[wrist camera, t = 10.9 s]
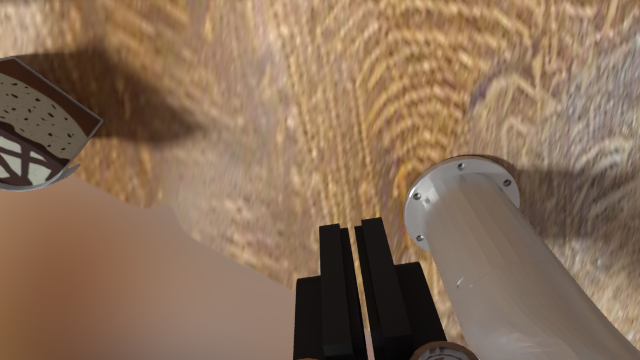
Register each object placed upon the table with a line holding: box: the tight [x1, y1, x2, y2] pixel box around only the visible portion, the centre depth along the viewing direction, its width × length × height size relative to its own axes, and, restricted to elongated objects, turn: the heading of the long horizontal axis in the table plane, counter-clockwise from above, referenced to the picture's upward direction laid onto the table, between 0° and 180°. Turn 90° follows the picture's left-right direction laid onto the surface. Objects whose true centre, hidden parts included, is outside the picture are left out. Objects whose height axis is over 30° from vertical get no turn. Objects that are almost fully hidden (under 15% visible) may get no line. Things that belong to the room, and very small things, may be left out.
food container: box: [0, 56, 104, 192], centre depth 38 cm, size 12×6×10 cm, turn 47°
